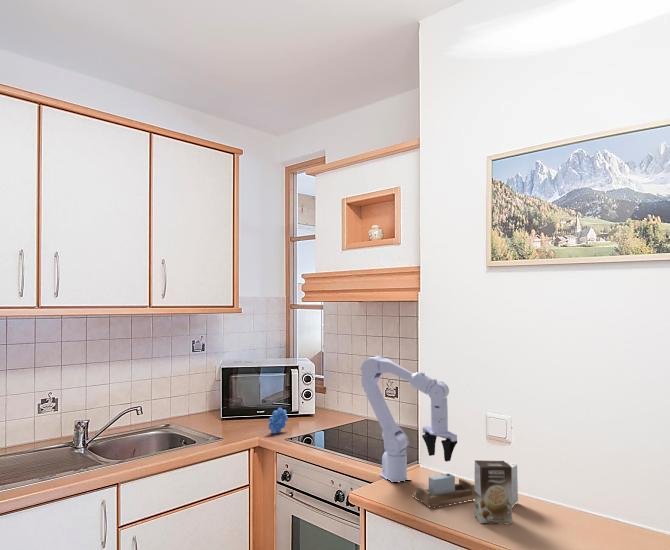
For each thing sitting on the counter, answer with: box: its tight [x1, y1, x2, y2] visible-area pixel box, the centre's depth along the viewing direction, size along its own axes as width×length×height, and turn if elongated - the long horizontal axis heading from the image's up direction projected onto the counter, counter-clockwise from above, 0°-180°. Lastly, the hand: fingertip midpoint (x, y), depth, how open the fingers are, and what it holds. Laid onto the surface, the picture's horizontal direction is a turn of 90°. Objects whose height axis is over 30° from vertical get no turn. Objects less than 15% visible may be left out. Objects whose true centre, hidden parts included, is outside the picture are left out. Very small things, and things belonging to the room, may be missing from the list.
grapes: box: [267, 407, 289, 434], centre depth 247 cm, size 12×7×12 cm, turn 136°
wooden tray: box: [411, 478, 475, 509], centre depth 164 cm, size 11×18×4 cm, turn 114°
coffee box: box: [473, 459, 513, 524], centre depth 148 cm, size 9×6×16 cm
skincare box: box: [504, 461, 519, 506], centre depth 160 cm, size 6×4×12 cm
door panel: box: [428, 473, 456, 496], centre depth 164 cm, size 3×8×6 cm, turn 114°
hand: (439, 458), depth 176 cm, fingers open, 7 cm apart
